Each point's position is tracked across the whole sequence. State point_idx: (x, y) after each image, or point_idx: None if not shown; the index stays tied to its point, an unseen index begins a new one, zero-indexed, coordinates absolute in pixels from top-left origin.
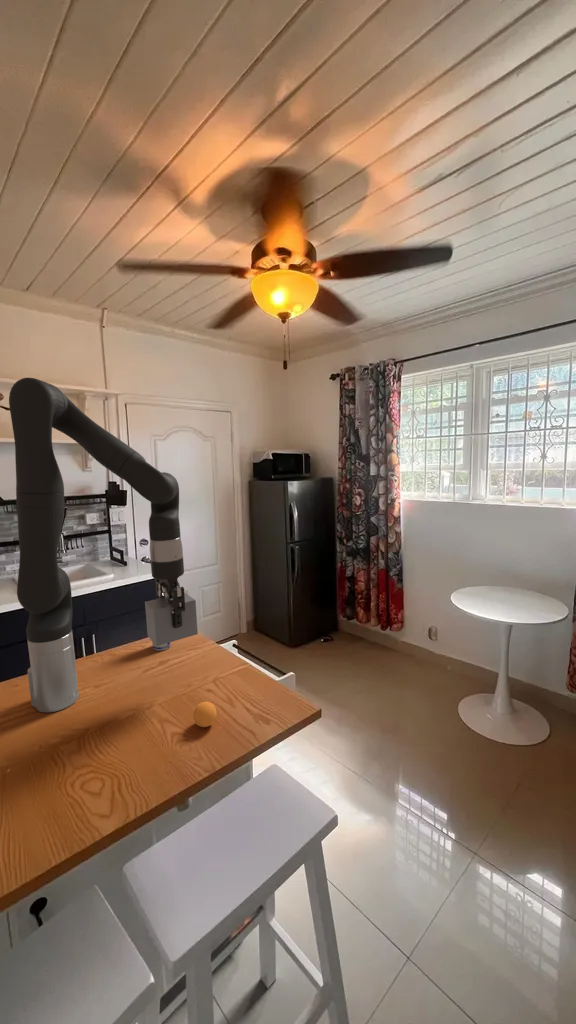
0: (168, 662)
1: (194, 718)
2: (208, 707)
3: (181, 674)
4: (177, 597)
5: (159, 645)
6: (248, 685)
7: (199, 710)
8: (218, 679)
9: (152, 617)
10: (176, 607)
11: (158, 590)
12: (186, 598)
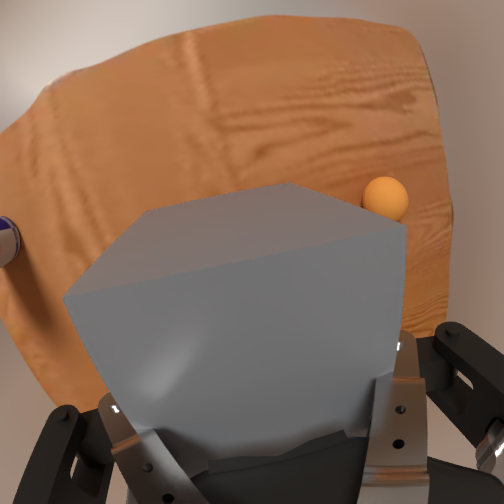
0: (76, 229)
1: None
2: (406, 198)
3: (148, 204)
4: (493, 421)
5: (13, 249)
6: (285, 63)
7: (401, 217)
8: (220, 116)
9: None
10: (467, 386)
11: (101, 501)
12: (297, 315)
